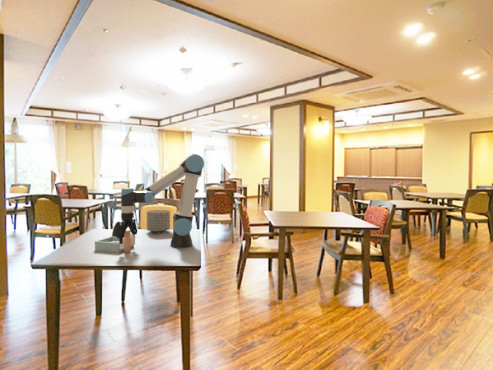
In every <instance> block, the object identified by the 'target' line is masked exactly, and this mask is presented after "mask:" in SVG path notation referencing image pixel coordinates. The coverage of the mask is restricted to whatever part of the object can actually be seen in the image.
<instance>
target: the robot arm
mask: <svg viewBox="0 0 493 370" xmlns="http://www.w3.org/2000/svg"><path fill="white" fill-rule="evenodd" d="M204 167H205V161H204V158H203V157H202V156H201V155H199V154H197V153H192V154H190V155H188V156H187V157H186V158H185V159H184V160H183V161H182V162H181V163H179V166H177V167H176V168H174V169H173V170H172V171H170V172H168V173H167V174H165V175H164V176H162V177H161V178H159V179H158V180H156V181H155V182H154V183H152V184H151V185H149V186H147V187H145V188H144V189H143V190H139V191H136V190H135V189H134V188H133V187H124V188H121V190H120V191H121V192H120V203H121V205H120V206H121V207H120V208H121V209H120V218H121V220H122V221H121V222H119V221H118V222H119V228H118V233H117V238H119V244H120V249H124V238H123V237H124V234H125V231H127V229H129V230H130V231H131V244H133V245H134V246H135V245H136V235H138V227H137V224H136V223H137V221H136V219H135V214H134V211H135V204H151V203H154V197H155V196H157V195H159V194H160V193H161V192H162V191H164V190H166V189H168V187H170V186H171V185H173V184H175V183H176V182H177V181H179V180H181V179H183V177H184V181H183V187H182V190H181V191H182V192H181V197H180V202H179V208H178V211H176V212H175V213H173V216H172V219H173V220H172V224H173V225H172V229H173V231H172V232H173V233H172V237H171V240H170V247H172V248H178V247H182V248H188V246H189V247H191V245H192V246H193V240H192V237H191V231H192V228H193V220H194V215H193V213H192V211H193V207H194V202H195V197H196V191H197V187H198V181H199V178H200V177H202V172H203V168H204Z"/></svg>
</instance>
